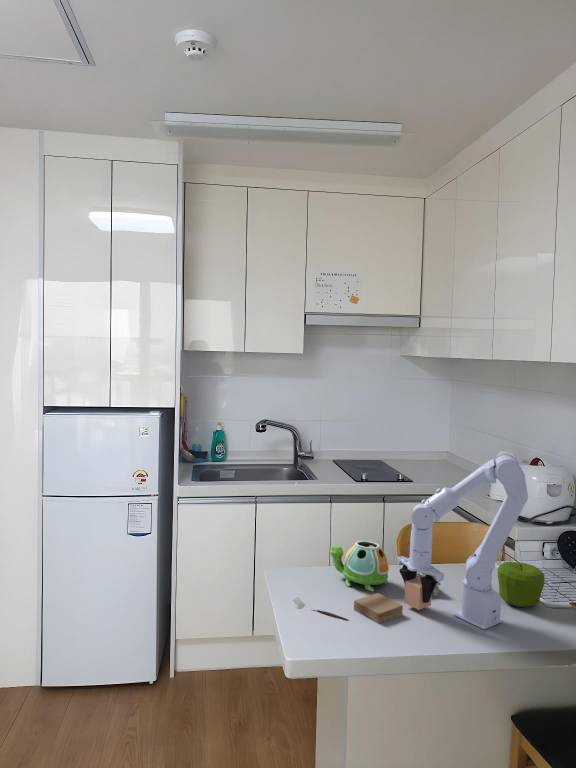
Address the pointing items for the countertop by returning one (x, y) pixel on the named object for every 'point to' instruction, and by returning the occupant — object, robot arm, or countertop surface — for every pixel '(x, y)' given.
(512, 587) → the apple
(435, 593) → the egg carton
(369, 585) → the turtle holder
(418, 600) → the terracotta block
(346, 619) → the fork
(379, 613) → the walnut block
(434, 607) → the countertop surface
